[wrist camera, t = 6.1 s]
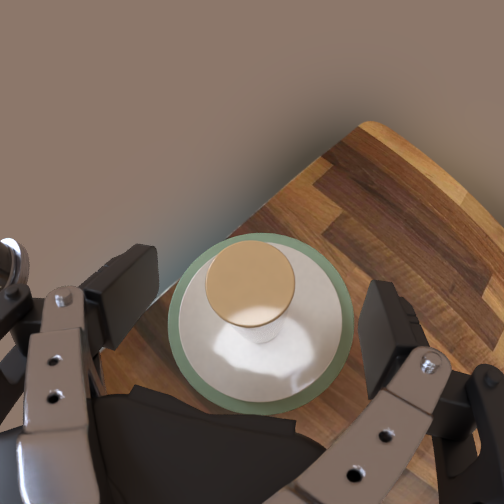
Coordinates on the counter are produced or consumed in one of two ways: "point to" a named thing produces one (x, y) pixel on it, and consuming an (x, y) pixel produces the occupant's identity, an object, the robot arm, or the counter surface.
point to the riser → (278, 405)
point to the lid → (260, 321)
